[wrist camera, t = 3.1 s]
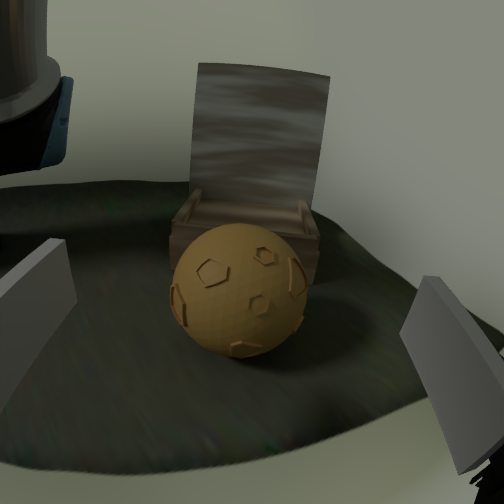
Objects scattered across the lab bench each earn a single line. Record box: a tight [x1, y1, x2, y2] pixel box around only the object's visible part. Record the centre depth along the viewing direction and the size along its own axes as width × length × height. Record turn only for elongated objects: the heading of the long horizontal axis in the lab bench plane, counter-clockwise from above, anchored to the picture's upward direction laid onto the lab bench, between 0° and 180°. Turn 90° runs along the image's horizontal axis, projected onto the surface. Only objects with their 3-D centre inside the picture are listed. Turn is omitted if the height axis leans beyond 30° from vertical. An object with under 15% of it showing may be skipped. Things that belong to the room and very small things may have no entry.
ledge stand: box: [169, 63, 330, 285], centre depth 35 cm, size 16×18×24 cm
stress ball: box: [170, 223, 308, 359], centre depth 22 cm, size 10×10×10 cm
